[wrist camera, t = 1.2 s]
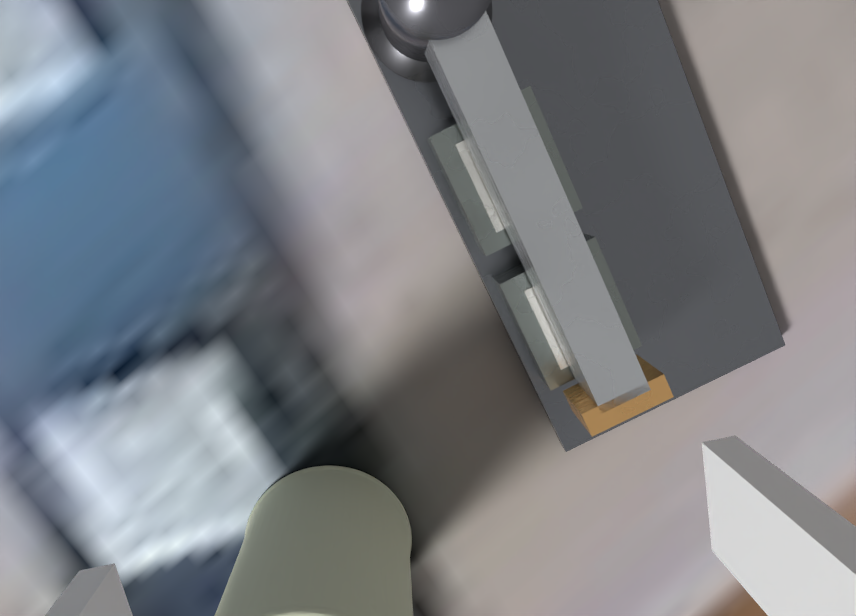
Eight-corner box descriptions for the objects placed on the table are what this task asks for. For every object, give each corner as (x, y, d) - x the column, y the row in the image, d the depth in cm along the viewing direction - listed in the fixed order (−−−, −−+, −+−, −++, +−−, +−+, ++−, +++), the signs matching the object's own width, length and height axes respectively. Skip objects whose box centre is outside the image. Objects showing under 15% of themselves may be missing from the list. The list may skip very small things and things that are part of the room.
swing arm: (360, -16, 27) (353, -73, 21) (450, -62, 27) (469, -134, 21) (558, 399, 32) (601, 456, 26) (634, 362, 32) (697, 409, 26)
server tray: (338, -16, 29) (333, -36, 26) (592, -150, 28) (616, -185, 25) (562, 445, 34) (577, 469, 32) (776, 341, 34) (811, 356, 31)
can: (409, 460, 34) (421, 611, 22) (413, 606, 36) (427, 815, 24) (238, 468, 33) (159, 628, 22) (253, 616, 35) (187, 836, 24)
